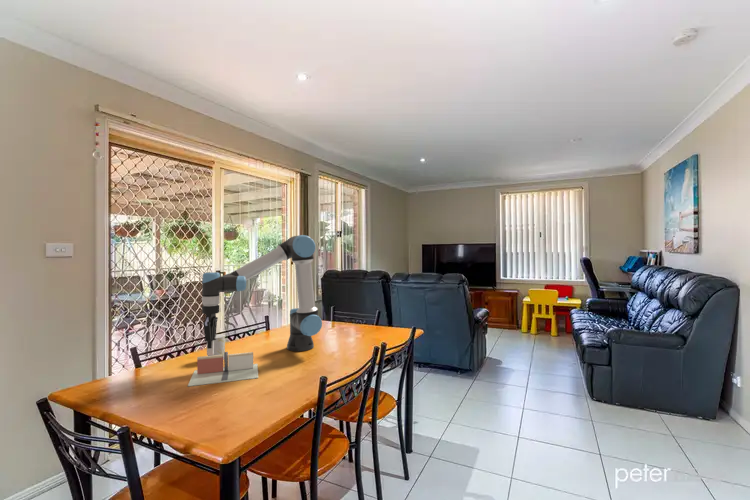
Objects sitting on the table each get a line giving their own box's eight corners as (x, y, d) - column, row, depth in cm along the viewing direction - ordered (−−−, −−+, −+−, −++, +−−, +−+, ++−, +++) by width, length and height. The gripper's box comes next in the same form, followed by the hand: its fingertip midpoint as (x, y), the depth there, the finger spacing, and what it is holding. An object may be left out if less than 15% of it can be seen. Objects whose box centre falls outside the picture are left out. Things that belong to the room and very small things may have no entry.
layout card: (257, 364, 174) (257, 363, 174) (258, 378, 155) (258, 377, 155) (194, 371, 165) (194, 370, 165) (187, 386, 146) (187, 385, 146)
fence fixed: (253, 367, 169) (253, 349, 169) (253, 369, 167) (253, 350, 167) (224, 371, 164) (224, 352, 164) (224, 372, 163) (224, 353, 163)
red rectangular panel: (223, 370, 164) (223, 354, 164) (223, 371, 163) (223, 355, 163) (197, 372, 161) (197, 356, 161) (197, 374, 159) (197, 358, 159)
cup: (220, 361, 178) (220, 338, 178) (204, 361, 179) (204, 338, 179) (227, 356, 187) (227, 334, 186) (212, 356, 187) (212, 334, 187)
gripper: (207, 302, 173) (207, 350, 173) (197, 307, 160) (196, 358, 160) (223, 302, 174) (222, 350, 174) (214, 306, 161) (213, 358, 161)
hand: (210, 354), depth 167 cm, fingers closed
